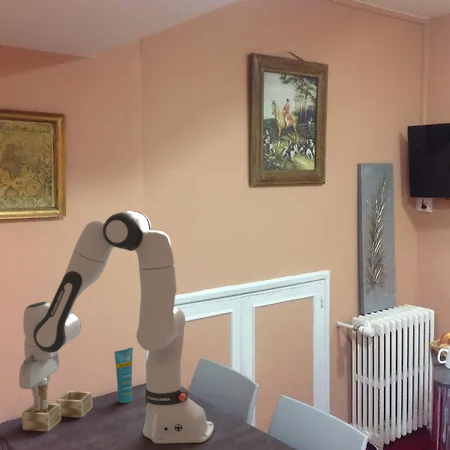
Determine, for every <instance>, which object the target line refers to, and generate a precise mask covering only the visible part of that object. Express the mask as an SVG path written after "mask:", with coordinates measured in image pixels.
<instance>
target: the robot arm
mask: <svg viewBox="0 0 450 450" xmlns="http://www.w3.org/2000/svg"><path fill="white" fill-rule="evenodd" d="M151 229H152V225H151V221H150V219H149V218H148V217H147V215H145V214H143V213H142V212H139V211H136V210H135V211H129V210H126V211H121V212H117V213H114V214H112V215H111V216H109V217H108V218H107V219H106V221H104V222H103V221H98V220H93V221H90V222H89V223H87V224H86V226H85V227H84V228H83V230H82V232H81V234H80V236H79V238H78V239H77V241H76V244H75V246H74V248H73V251H72V254H71V255H70V256H71V257H70V260H69V262H68V265H67V267H66V270H65V273H64V275H63V277H62V280H61V282H60V284H59V286H58V288H57V290H56V292H55V295H54V297H53V298H52V301H51V304H50V303H49V302H48V301H39V302H35V303H32V304H29V305H27V306H26V308H25V309H24V313H23V323H22V324H23V333H24V344H23V345H24V359H23V363H22V364H21V365H20V368H19V374H18V377H19V378H18V379H19V380H18V381H19V383H18V385H19V388H20V389H23V390H31V393H32V397H33V398H34V397H37V396H39V395H40V390H38V388H37V386H38V383H39V382H41V381H42V380H44V379H45V378H47V390H48V389H49V384H50V379H51V375H52V374H54V373H56V372H57V371H58V370H59V368H60V353H59V351H60V349H62V347H64V346H65V345H66V344H68V343H69V342H70V341H72V340H74V339H75V338H76V337H77V336H79V334H80V332H81V329H82V327H81V321H80V319H79V317H78V316H77V315H76V314H75V313H73V312H72V309H73V307H74V305H75V302H76V301H77V299H78V297H79V296H80V295H82V293H83V292H84V291H85V290H86V289H87V288H88V287H90V286H91V285H92V284H93V283H95V282H96V281H97V280H98V279H99V278H100V276H101V275H102V273H103V272H104V270H105V268H106V265H107V263H108V260H109V258H110V255H111V253H112V251H113V249H114V248H118V249H121V250H126V251H129V252H133V251H134V252H136V254H137V260H138V273H139V282H140V304H139V316H138V317H139V319H138V326H137V330H136V339H137V343H138V345H139V346H140V347H141V348H142V349H144V350H145V351H148V354H147V358H146V361H145V362H146V363H145V379H146V380H145V381H146V384H145V385H146V387H145V391H144V400H145V406H146V410H145V418H144V419H145V420H144V426H143V430H142V434H143V436H145V437H146V438H148V439H149V440H151V442H153V444H189V443H190V444H192V443H197V444H198V443H203V442H206V441H207V440H209V439H210V438H211V437H212V435H213V434H214V430H215V427H214V423H213V422H212V421H209V420H207V416H206V412H205V410H204V408H203V407H202V406H200V405H199V404H197V403H196V402H195V401H193V400H192V399H190V397H189V393H188V392H189V387H186V388H185V387H184V386H183V385H182V355H183V354H182V353H183V346H184V335H185V325H186V317H185V314H184V312H183V310H182V309H181V308H179V307H178V306H175V299H176V294H177V279H176V270H175V260H174V253H173V248H172V245H171V244H172V243H171V240H170V237H169V235H167V233H165V232H163V231H160V230H151Z"/></svg>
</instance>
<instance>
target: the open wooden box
mask: <svg viewBox="0 0 450 450" xmlns="http://www.w3.org/2000/svg"><path fill="white" fill-rule="evenodd" d="M56 404H61V417H64V418H66V417H67V418H81V419H82V418H83V417H85V415H86V414H87V413H89V412H90V410H92V409H93V391H81V390H80V391H75V390H68V391H66V392H65V393H64V394H63V395H60V397H59V398H57V399H56ZM91 408H92V409H91Z"/></svg>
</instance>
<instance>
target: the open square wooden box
mask: <svg viewBox="0 0 450 450" xmlns="http://www.w3.org/2000/svg"><path fill="white" fill-rule="evenodd" d="M21 419H22V420H21V421H22V425H21V426H22V430H23V431H37V432H49V431H50V430H52V429H53V428H54V427H55V426H57V425H58V424H59V423H60V422H61V421H62V416H61V404H57V403H50V402H48V412H47V413H36V412H35V410H34V403H33V404H32V405H31V406H29V407H28V408H27V409H26V410H24V411H22V412H21Z"/></svg>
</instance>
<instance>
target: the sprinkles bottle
mask: <svg viewBox="0 0 450 450" xmlns="http://www.w3.org/2000/svg"><path fill="white" fill-rule="evenodd" d="M37 388H38V390H40V395H39V396H37V397H34V396H33V404H34V410H35V412H36V413H47V412H48V403H49V402H48V401H49V400H48V389H47V378H45V379H44V380H42V381H41V382H39V383H38V386H37Z"/></svg>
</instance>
